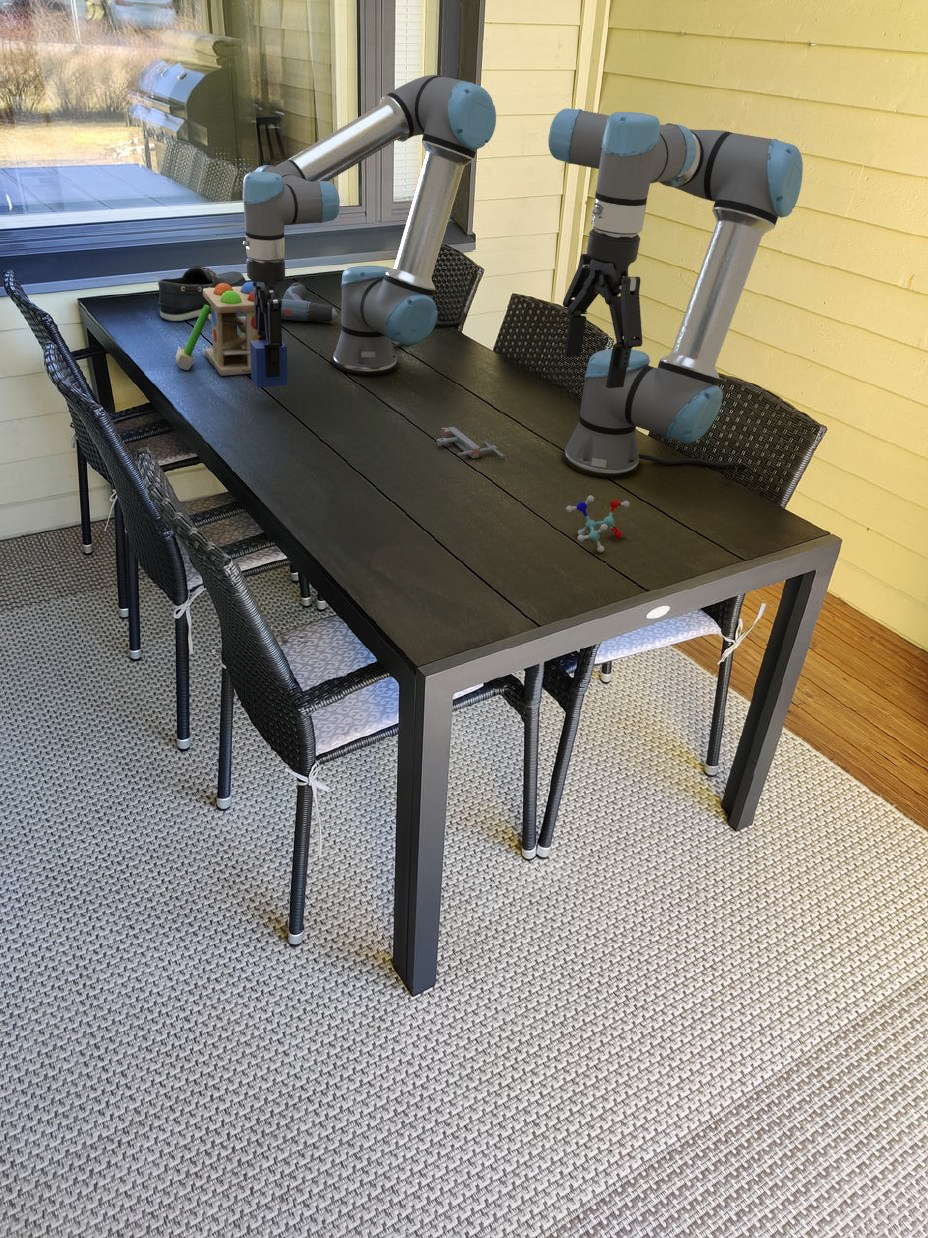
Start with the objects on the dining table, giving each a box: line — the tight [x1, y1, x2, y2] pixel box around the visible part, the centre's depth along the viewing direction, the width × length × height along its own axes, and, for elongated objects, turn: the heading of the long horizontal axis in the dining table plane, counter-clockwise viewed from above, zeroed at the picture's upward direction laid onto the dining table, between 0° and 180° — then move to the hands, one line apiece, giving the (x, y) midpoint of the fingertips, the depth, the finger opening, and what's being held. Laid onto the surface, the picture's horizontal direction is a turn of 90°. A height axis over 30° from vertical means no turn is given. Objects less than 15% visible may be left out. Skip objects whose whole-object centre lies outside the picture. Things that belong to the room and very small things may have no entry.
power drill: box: [280, 282, 338, 322], centre depth 265 cm, size 5×19×20 cm
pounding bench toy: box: [174, 281, 260, 377], centre depth 225 cm, size 23×14×18 cm, turn 116°
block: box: [250, 340, 289, 389], centre depth 206 cm, size 5×6×8 cm
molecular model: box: [565, 495, 630, 554], centre depth 173 cm, size 12×10×10 cm
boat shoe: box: [157, 265, 247, 322], centre depth 263 cm, size 13×33×10 cm, turn 147°
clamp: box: [436, 426, 507, 460], centre depth 201 cm, size 15×2×10 cm
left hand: (269, 371), depth 207 cm, fingers closed on block, 5 cm apart
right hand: (592, 371), depth 156 cm, fingers open, 13 cm apart
